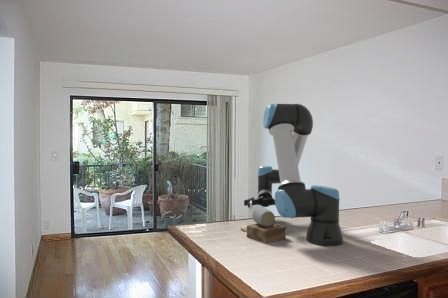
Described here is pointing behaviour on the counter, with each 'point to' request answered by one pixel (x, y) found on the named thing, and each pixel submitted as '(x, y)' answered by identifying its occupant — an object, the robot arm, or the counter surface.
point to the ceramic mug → (264, 217)
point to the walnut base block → (266, 232)
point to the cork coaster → (243, 228)
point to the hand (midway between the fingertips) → (265, 206)
